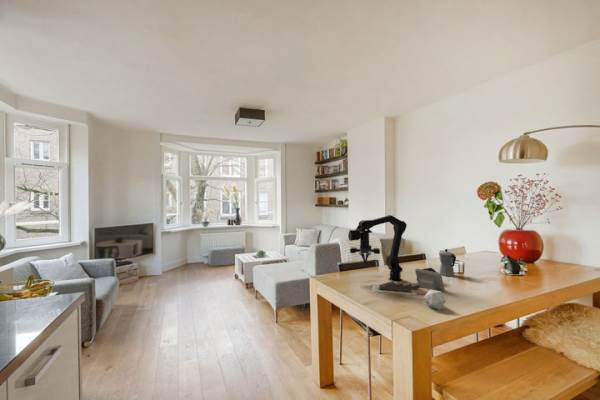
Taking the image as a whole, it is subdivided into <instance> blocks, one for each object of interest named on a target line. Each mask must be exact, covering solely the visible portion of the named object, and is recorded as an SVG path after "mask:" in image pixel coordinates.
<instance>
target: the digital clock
mask: <svg viewBox="0 0 600 400" xmlns="http://www.w3.org/2000/svg"><path fill="white" fill-rule="evenodd" d="M422 269H423V268H422ZM422 269H421V268H415V270H414V271H415V275H416V281H417V280H418V281H417V282H418V284H419V287H420V288H424V289H428V290H430V289H431V290H436V291H441V292H443V291H445V286H444V281H443V276H442V275H441V274H440V272H438V273H436V272H437V271H436V272H431V271H426V270H422Z"/></svg>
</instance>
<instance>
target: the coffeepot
mask: <svg viewBox="0 0 600 400" xmlns="http://www.w3.org/2000/svg"><path fill="white" fill-rule="evenodd" d="M448 250H449V249H448V248H445V249H444V251H440V252H438V256H439V261H440V268H439V273H440V274H441V276H442V277H447V278H448V277H455V272H454V266H455V263H456V260H457V257H456V255H455V254H454V253H453V252H450V251H448Z"/></svg>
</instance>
